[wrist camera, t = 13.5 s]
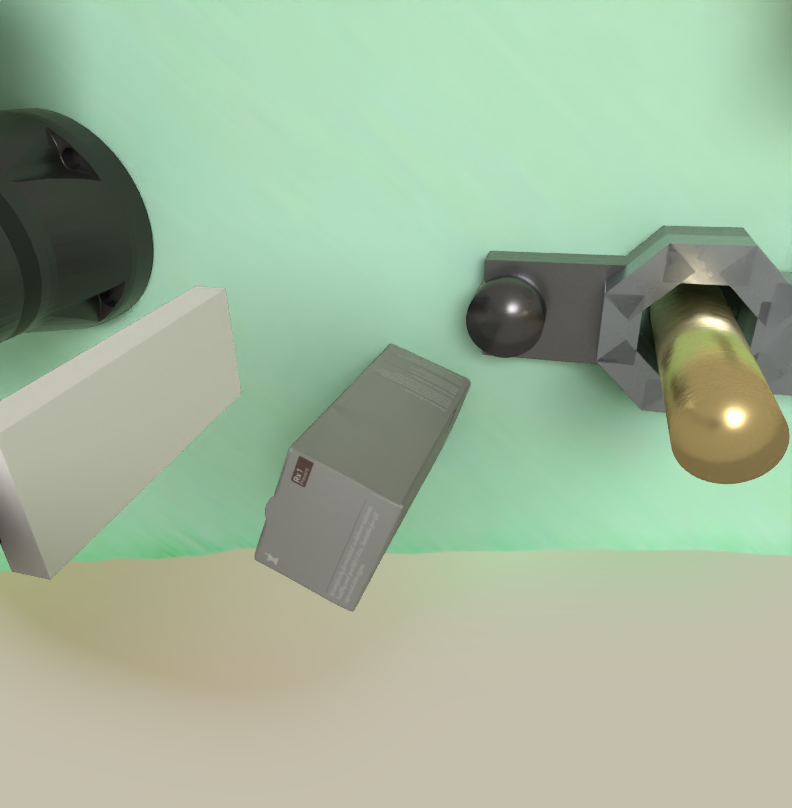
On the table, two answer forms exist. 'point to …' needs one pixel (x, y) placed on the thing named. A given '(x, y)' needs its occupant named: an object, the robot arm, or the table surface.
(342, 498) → the skincare box
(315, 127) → the table surface
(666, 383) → the brass pin
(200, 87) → the table surface
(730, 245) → the grey socket base
